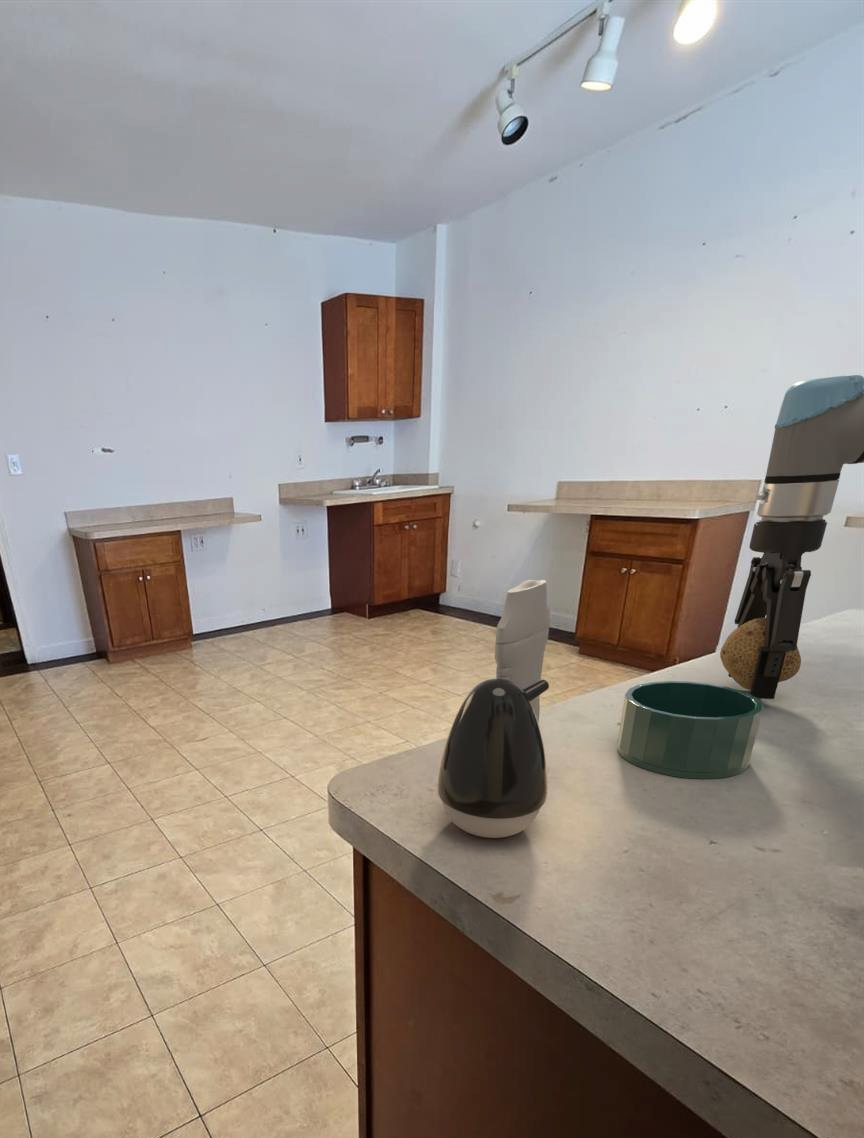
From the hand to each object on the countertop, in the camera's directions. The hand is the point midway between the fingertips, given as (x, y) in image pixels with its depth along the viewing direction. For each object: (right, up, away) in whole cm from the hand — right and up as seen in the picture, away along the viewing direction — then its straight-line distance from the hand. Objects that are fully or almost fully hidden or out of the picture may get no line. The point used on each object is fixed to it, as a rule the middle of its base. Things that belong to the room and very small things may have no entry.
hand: (749, 686), depth 91 cm
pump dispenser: (-46, -18, -26) cm, 56 cm away
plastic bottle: (-40, -13, -17) cm, 45 cm away
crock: (-19, -10, -15) cm, 26 cm away
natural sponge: (0, 0, 0) cm, 0 cm away
